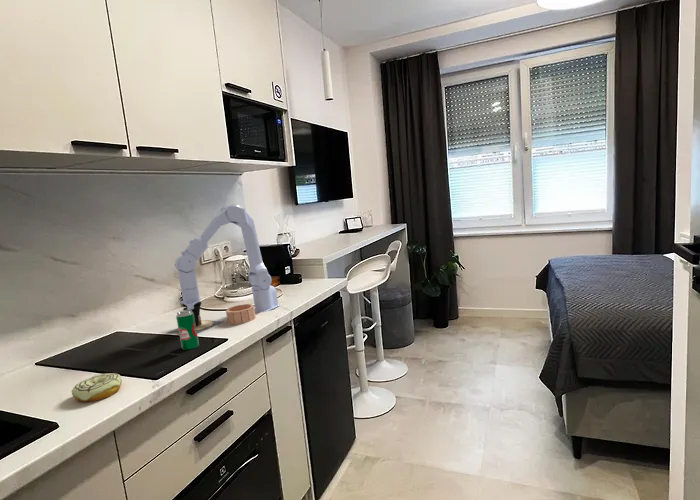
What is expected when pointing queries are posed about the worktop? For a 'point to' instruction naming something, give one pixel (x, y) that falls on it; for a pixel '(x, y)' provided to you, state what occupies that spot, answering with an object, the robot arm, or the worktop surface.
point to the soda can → (187, 329)
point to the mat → (200, 330)
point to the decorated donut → (97, 387)
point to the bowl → (240, 314)
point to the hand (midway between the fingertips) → (195, 324)
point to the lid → (203, 324)
